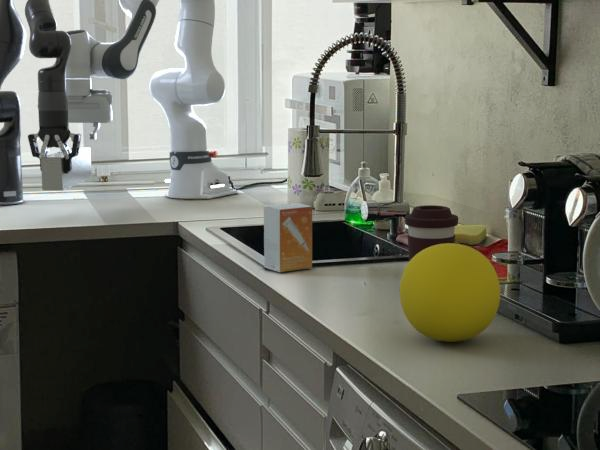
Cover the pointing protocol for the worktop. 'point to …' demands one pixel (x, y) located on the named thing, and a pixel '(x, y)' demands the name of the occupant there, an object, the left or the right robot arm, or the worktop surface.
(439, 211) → the coffee cup
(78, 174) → the bar
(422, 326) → the toy
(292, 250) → the small box
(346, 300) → the worktop surface
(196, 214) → the worktop surface
